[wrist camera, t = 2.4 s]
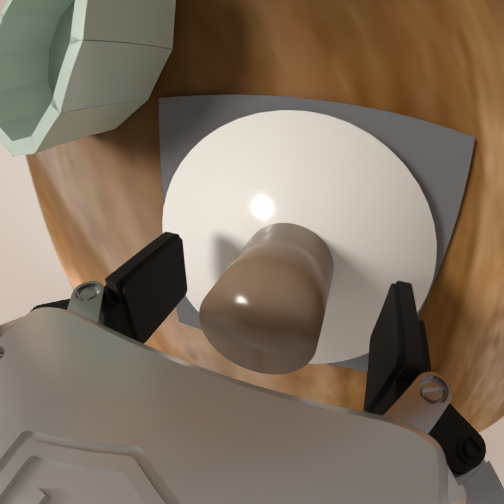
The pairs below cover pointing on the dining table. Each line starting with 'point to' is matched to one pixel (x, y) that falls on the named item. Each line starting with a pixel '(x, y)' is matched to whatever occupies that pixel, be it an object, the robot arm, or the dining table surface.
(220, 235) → the lid
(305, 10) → the dining table surface
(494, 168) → the dining table surface
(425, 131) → the mat
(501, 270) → the dining table surface
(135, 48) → the bowl
